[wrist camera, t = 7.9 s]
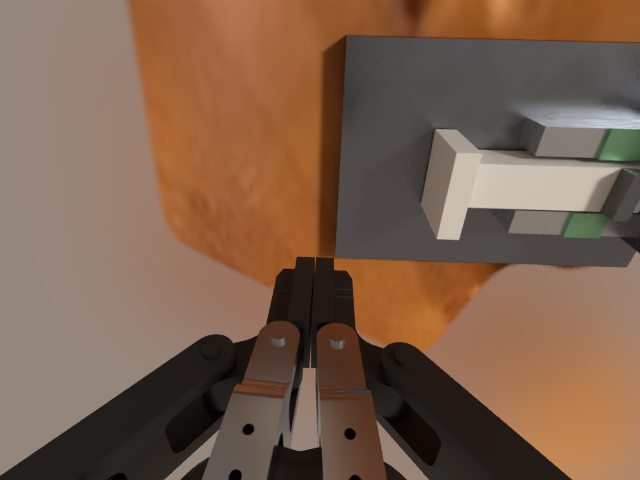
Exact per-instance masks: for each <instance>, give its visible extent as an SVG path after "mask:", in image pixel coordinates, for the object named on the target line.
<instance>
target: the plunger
mask: <svg viewBox="0 0 640 480" xmlns="http://www.w3.org/2000/svg"><path fill="white" fill-rule="evenodd" d="M421 206H422V209H423V211H424V213H425V215H426V217H427V219H428V221H429V224H430V226H431V228H432V230H433V232H434V234H435V236H436V239H446V240H459V238H460V234H461V231H462V227H463V223H464V220H465V216H466V212H467V209H468V208H499V209H530V210H562V211H593V212H601V213H602V214H604V215H605V216H606V217H608V218H609V219H610V220H612V221H628V220H629V218H630V217H631V215H632V213H639V211H640V161H617V160H598V159H596V158H584V157H550V156H535V155H533V154H532V153H530V152H529V151H503V150H478V149H477V148H476V147H475V146H474V145H473V144H472V143H470V142H469V141H468V140H467V139H466V138H465V137H464V136H463V135H462V134H461V133H460V132H459V131H457V130H449V129H435V134H434V139H433V144H432V149H431V155H430V160H429V165H428V170H427V175H426V181H425V186H424V191H423V196H422V201H421Z"/></svg>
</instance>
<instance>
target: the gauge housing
mask: <svg viewBox="0 0 640 480" xmlns="http://www.w3.org/2000/svg"><path fill="white" fill-rule="evenodd" d="M435 129H449V130H457V131H459V132H460V133H461V134H462V135H463V136H464V137H465V138H466V139H467V140H468V141H469V142H470V143H472V144H473V145H474V146H475V147H476V148H477V149H478V150H503V151H529V152H530V153H532V154H533V155H535V156H550V157H584V158H596V159H598V160H617V161H640V42H603V41H563V40H524V39H484V38H444V37H404V36H364V35H346V45H345V64H344V83H343V103H342V122H341V141H340V161H339V180H338V199H337V218H336V238H335V258H363V259H392V260H422V261H452V262H481V263H511V264H541V265H570V266H600V267H627V266H628V264H629V262H630V261H631V259H632V258H633V256H634V254H635V253H636V251H637V252H639V253H640V211H639V213H632V215H631V217H630V218H629V220H628V221H612V220H610V219H609V218H608V217H606V216H605V215H604V214H602V213H601V212H593V211H562V210H530V209H499V208H468V209H467V212H466V216H465V220H464V223H463V227H462V231H461V234H460V238H459V240H446V239H436V236H435V234H434V232H433V230H432V228H431V226H430V224H429V221H428V219H427V217H426V215H425V213H424V211H423V209H422V206H421V201H422V196H423V191H424V186H425V181H426V175H427V170H428V165H429V160H430V155H431V149H432V144H433V139H434V134H435Z"/></svg>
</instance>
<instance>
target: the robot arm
mask: <svg viewBox="0 0 640 480" xmlns="http://www.w3.org/2000/svg"><path fill="white" fill-rule="evenodd" d="M310 350H311V368H316V387H315V388H316V389H315V390H316V421H317V448H313V449H309V450H305V451H296V450H293V449H291V442H292V435H293V429H294V423H295V417H296V412H297V406H298V400H299V394H300V388H301V382H302V375H303V368H309V363H310ZM376 420H377V421H378V422H379V423H380V425H382V427H383V428H384V429H385V430H386V431H387V432H388V433H389V435H390V436H391V437H392V438H393V439H394V440H395V442H397V444H398V445H399V446H400V447H401V448H402V450H403V451H404V452H405V453H406V454H407V455H408V456H409V457H410V459H412V461H413V462H414V463H415V464H416V465H417V467H418V468H419V469H420V470H421V471H422V472H423V473H424V475H426V477H427V478H428V479H429V480H572V479H571V478H569V477H568V476H567V475H566V474H565V473H563V472H562V471H561V470H560V469H559V468H558V467H556V466H555V465H554V464H553V463H552V462H551V461H549V460H548V459H547V458H546V457H545V456H543V455H542V454H541V453H540V452H539V451H538V450H536V449H535V448H534V447H533V446H532V445H530V444H529V443H528V442H527V441H526V440H524V439H523V438H522V437H521V436H520V435H519V434H517V433H516V432H515V431H514V430H513V429H512V428H510V427H509V426H508V425H507V424H506V423H505V422H503V421H502V420H501V419H500V418H499V417H497V416H496V415H495V414H494V413H493V412H492V411H490V410H489V409H488V408H487V407H486V406H484V405H483V404H482V403H481V402H480V401H479V400H477V399H476V398H475V397H474V396H473V395H472V394H470V393H469V392H468V391H467V390H465V389H464V388H463V387H462V386H461V385H460V384H459V383H457V382H456V381H455V380H454V379H453V378H451V377H450V376H449V375H448V374H447V373H446V372H444V371H443V370H442V369H441V368H440V367H439V366H437V365H436V364H435V363H434V362H433V361H431V360H430V359H429V358H428V357H427V356H426V355H424V354H423V353H422V352H421V351H420V350H419V349H417V348H416V347H414V346H412V345H410V344H407V343H403V342H396V343H391V344H389V345H387V346H386V347H385V348H381V347H378V346H375V345H372V344H370V343H368V342H366V341H364V340H363V339H362V338H361V337H360V336H359V335H358V333H357V331H356V327H355V315H354V299H353V284H352V278H351V277H350V275H349V274H348V272H347V271H339V270H334V258H322V257H316V266H315V257H297V259H296V266H295V269H283V270H282V271H281V272H280V273H279V274H278V276H277V277H276V282H275V288H274V291H273V296H272V300H271V305H270V309H269V314H268V319H267V323H266V325H265V326H264V327H263V328H262V329H261V330H260V332H259V334H258V335H257V336H255V337H253V338H251V339H249V340H245V341H241V342H236V343H233V342H232V341H231V340H230V339H229V338H228V337H226V336H224V335H218V334H215V335H209V336H205V337H203V338H201V339H200V340H198V341H197V342H195V343H194V344H192V345H191V346H189V347H188V348H186V349H185V350H183V351H182V352H180V353H179V354H178V355H176V356H175V357H173V358H172V359H170V360H169V361H167V362H166V363H164V364H163V365H162V366H160V367H159V368H157V369H156V370H154V371H153V372H151V373H150V374H148V375H147V376H145V377H144V378H143V379H141V380H140V381H138V382H137V383H135V384H134V385H132V386H131V387H130V388H128V389H127V390H125V391H123V392H122V393H121V394H119V395H118V396H116V397H115V398H113V399H112V400H110V401H109V402H108V403H106V404H105V405H103V406H102V407H100V408H99V409H97V410H96V411H94V412H93V413H91V414H90V415H89V416H87V417H86V418H84V419H83V420H81V421H80V422H79V423H77V424H75V425H74V426H73V427H71V428H70V429H68V430H67V431H65V432H64V433H62V434H61V435H59V436H58V437H57V438H55V439H53V440H52V441H51V442H49V443H48V444H46V445H45V446H43V447H42V448H40V449H39V450H37V451H36V452H34V453H33V454H32V455H30V456H29V457H27V458H26V459H24V460H23V461H21V462H20V463H18V464H17V465H15V466H14V467H13V468H11V469H10V470H8V471H7V472H5V473H4V474H2V475H1V476H0V480H164V479H165V478H166V477H167V476H169V475H170V474H171V473H172V472H173V471H174V470H175V469H176V468H177V467H178V466H180V465H181V464H182V463H183V462H184V461H185V460H186V459H187V458H188V457H189V456H191V455H192V453H194V452H195V451H196V450H197V449H198V448H199V447H200V446H201V445H203V444H204V443H205V442H206V441H207V440H208V439H209V438H210V437H211V436H212V435H213V434H215V433H216V432H217V431H218V430H219V432H218V435H217V438H216V441H215V444H214V447H213V449H212V452H211V455H210V457H209V458H207V459H205V460H204V461H202V462H201V463H199V464H198V465H196V466H195V467H194V468H193V469H191V470H190V471H189V472H188V473H187V474H186V475H185V476H184V477H183V478H182V479H181V480H406V479H405V478H404V477H403V476H402V475H401V474H400V473H399V472H398V471H397V470H395V469H394V468H393V467H392V466H390V465H389V464H387V463H385V462H384V461H383V456H382V450H381V444H380V438H379V433H378V427H377V421H376Z"/></svg>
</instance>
